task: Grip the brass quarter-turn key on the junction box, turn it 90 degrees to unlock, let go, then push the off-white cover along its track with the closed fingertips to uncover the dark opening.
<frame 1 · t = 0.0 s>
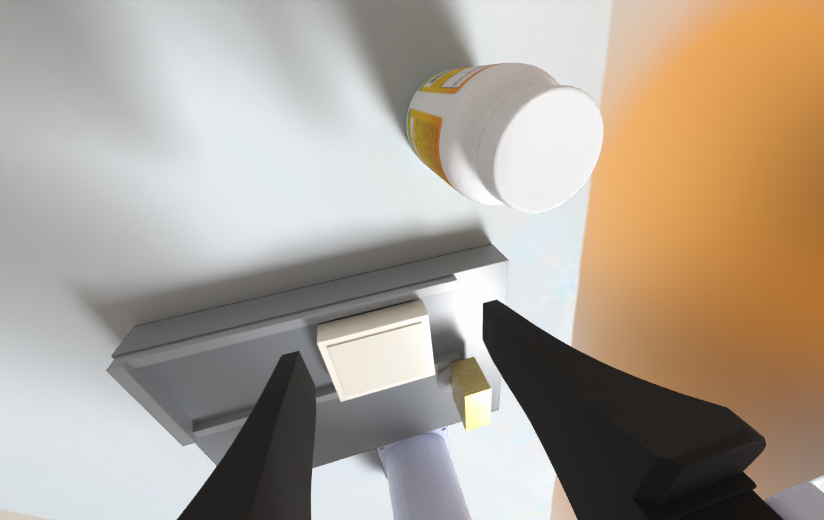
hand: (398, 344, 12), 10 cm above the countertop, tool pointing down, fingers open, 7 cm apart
supplement bottle: (447, 122, 18), on the countertop
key: (468, 389, 24), point 5 cm above the countertop, hinge at 0.0°
junction box: (355, 365, 26), on the countertop
cover: (380, 352, 21), point 4 cm above the countertop, slide at 0.0 cm
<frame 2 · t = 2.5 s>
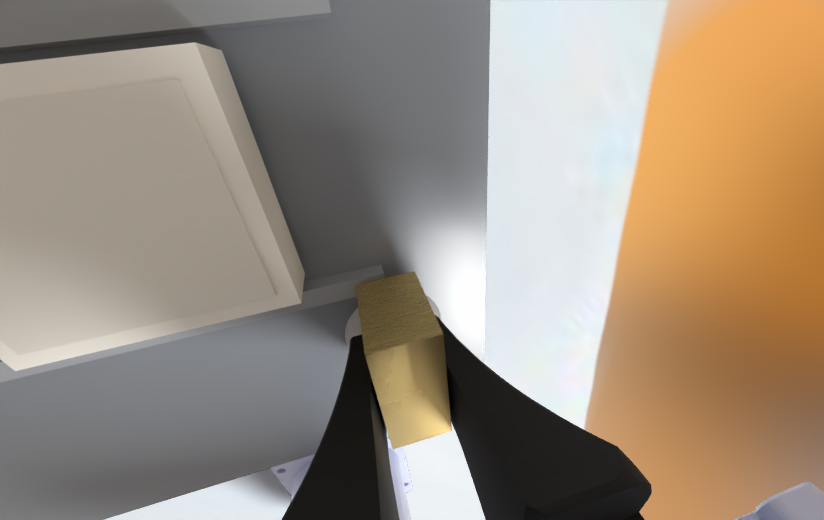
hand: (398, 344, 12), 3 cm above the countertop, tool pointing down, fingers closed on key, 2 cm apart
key: (401, 349, 10), point 5 cm above the countertop, hinge at 0.0°, touching gripper
junction box: (172, 305, 12), on the countertop
cover: (110, 221, 7), point 4 cm above the countertop, slide at 0.0 cm
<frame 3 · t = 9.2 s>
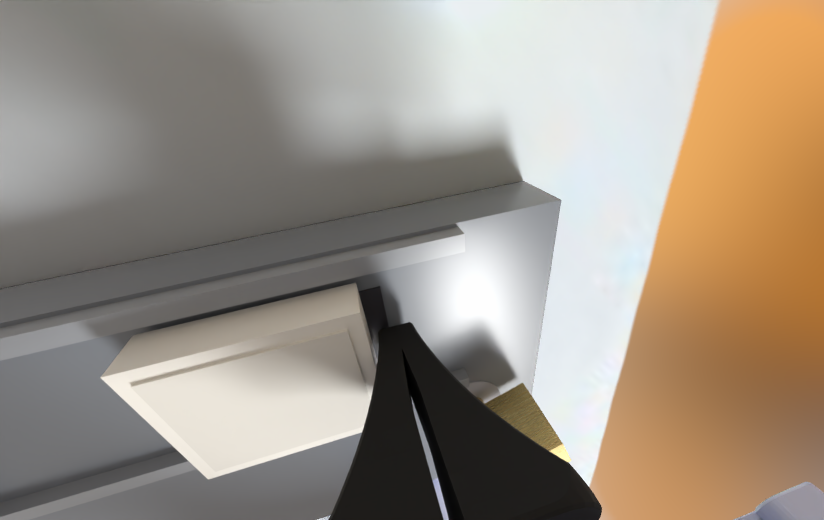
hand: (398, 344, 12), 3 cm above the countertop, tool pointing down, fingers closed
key: (499, 434, 15), point 5 cm above the countertop, hinge at -68.9°
junction box: (297, 389, 16), on the countertop
cover: (278, 386, 11), point 4 cm above the countertop, slide at 1.4 cm, touching gripper
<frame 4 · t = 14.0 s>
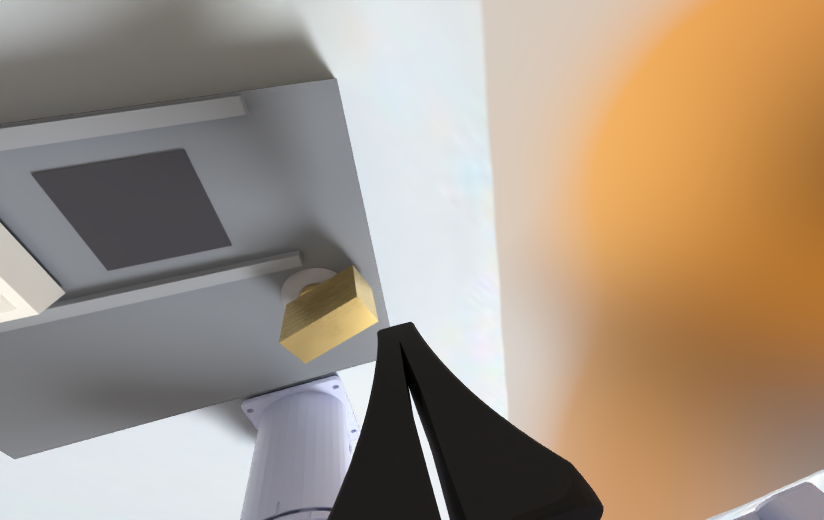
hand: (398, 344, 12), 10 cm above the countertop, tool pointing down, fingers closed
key: (329, 308, 17), point 5 cm above the countertop, hinge at -69.0°
junction box: (166, 278, 18), on the countertop
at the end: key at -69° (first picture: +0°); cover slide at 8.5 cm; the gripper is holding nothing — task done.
